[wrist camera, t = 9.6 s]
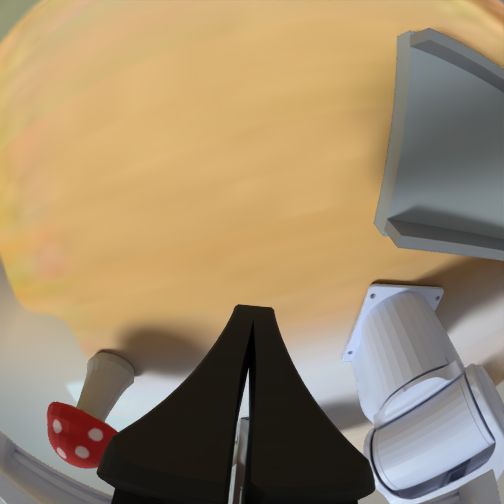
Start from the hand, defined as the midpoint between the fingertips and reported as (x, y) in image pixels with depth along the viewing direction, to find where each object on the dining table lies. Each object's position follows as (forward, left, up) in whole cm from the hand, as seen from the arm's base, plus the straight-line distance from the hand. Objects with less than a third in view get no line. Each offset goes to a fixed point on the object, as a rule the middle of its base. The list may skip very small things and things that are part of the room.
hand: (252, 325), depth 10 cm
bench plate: (+8, -17, -10) cm, 21 cm away
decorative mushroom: (-20, +17, -11) cm, 29 cm away
